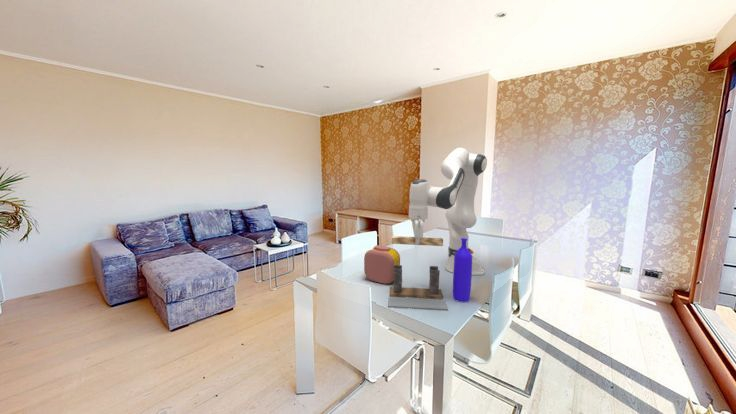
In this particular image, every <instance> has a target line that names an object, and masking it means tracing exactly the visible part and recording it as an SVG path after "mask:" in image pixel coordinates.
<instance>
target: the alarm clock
mask: <svg viewBox="0 0 736 414" xmlns="http://www.w3.org/2000/svg"><path fill="white" fill-rule="evenodd" d="M363 263H364V264H363V265H364V266H363V269H364V271H363V272H364V275H365V277H366V278H367V279H368V280H369V281H372V282H375V283H380V284H385V285H386V284H387V285H388V284H390V283H392V282H394V265H401V256H400V253H399V252H398V250H397V249H395V248H393V247H390V246H385V245H378V244H377V245H374V246H373V247H372V248H371V249H369V250H367V251H366V253H364V261H363Z"/></svg>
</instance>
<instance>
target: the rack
mask: <svg viewBox="0 0 736 414" xmlns="http://www.w3.org/2000/svg"><path fill="white" fill-rule="evenodd" d="M440 272H441V271H440V270H439V266H436V265H434V266H433V265H429V282H428V283H429V284H428V288H426V287H425V288H424V287H404V286H403V265H402V264H400V265H394V280H393V286H389V298H406V297H408V299H429V300H444V295H443V291H442V289H441V288H440Z"/></svg>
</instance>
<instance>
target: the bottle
mask: <svg viewBox="0 0 736 414" xmlns="http://www.w3.org/2000/svg"><path fill="white" fill-rule="evenodd" d="M461 240H462V246H461V248H460V249H459V250H458V251H457V252H456V253H455V257H454V273H452V274H453V275H452V276H453V277H452V278H453V279H452V298H453V299H454V300H455V301H457V302H460V303H465V302H468V301H470V298H471V292H472V291H471V290H472V276H473V275H472V255H473V254H471V253H470V251H469V250H468V249H467V247H466V241H467V240H468V241H469V239H466V238H461Z"/></svg>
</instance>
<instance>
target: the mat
mask: <svg viewBox="0 0 736 414" xmlns="http://www.w3.org/2000/svg"><path fill="white" fill-rule="evenodd" d="M389 307H394V308H393V309H408V308H410V309H411V308H412V309H411V310H413V309H414V310H431V311H449V308H448V305H447V301H446V300H445V299H427V298H406V297H388V298H387V308H389Z"/></svg>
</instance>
